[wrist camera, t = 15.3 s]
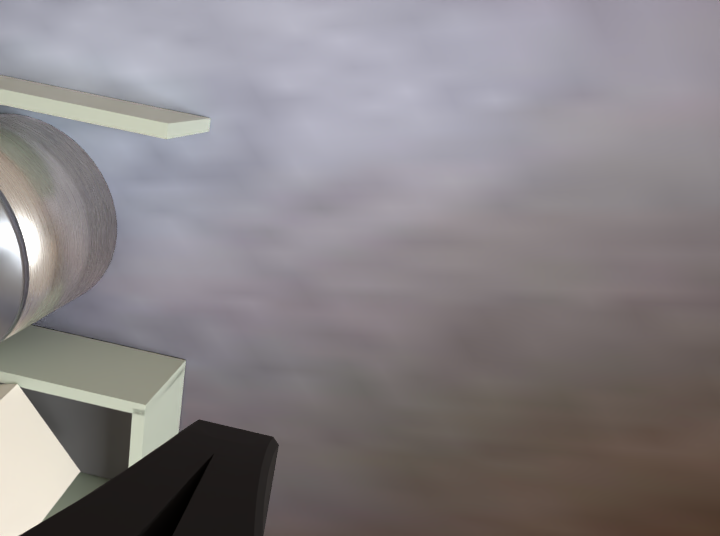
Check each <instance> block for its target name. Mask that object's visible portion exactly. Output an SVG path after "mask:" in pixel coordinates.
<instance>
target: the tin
mask: <svg viewBox="0 0 720 536" xmlns="http://www.w3.org/2000/svg"><path fill="white" fill-rule="evenodd" d="M116 238H117V220H116V212H115V207H114V203H113V199H112V196H111V193H110V191H109V188H108V185H107V183H106V181H105V180H104V178H103V176H102V174H101V172H100V171H99V169H98V167H97V166H96V164H95V163H94V161H93V160H92V159H91V158H90V157H89V155H88V154H87V153H86V152H85V151H84V150H83V149H82V148H81V147H80V146H79V145H78V144H77V143H76V142H75V141H74V140H73V139H71V138H70V137H69V136H67V135H66V134H65V133H63V132H62V131H60V130H58V129H57V128H55V127H53V126H52V125H50V124H47V123H45V122H43V121H41V120H38V119H35V118H31V117H28V116H23V115H17V114H0V343H1V342H3V341H4V340H6V339H7V338H9V337H11V336H12V335H14V334H16V333H18V332H19V331H21V330H23V329H24V328H26V327H28V326H29V325H31V324H33V323H35V322H36V321H38V320H40V319H41V318H43V317H45V316H47V315H48V314H50V313H52V312H53V311H55V310H57V309H58V308H60V307H62V306H64V305H65V304H67V303H69V302H70V301H72V300H74V299H75V298H77V297H79V296H81V295H82V294H84V293H86V292H87V291H88V290H89V289H91V288H92V287H93V286H94V285H95V284H96V283H97V282H98V281H99V280H100V279H101V278H102V276H103V275H104V273H105V272H106V270H107V268H108V266H109V264H110V262H111V260H112V257H113V253H114V250H115V245H116Z"/></svg>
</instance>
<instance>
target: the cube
mask: <svg viewBox="0 0 720 536" xmlns="http://www.w3.org/2000/svg"><path fill="white" fill-rule="evenodd" d="M79 473H80V470H79V469H78V467H77V466H76V465H75V463H74V462H73V460H72V459H71V458H70V456H69V455H68V453H67V452H66V451H65V449H64V448H63V446H62V445H61V444H60V442H59V441H58V439H57V438H56V437H55V435H54V434H53V432H52V431H51V430H50V428H49V427H48V426H47V424H46V423H45V421H44V420H43V419H42V417H41V416H40V414H39V413H38V412H37V410H36V409H35V407H34V406H33V405H32V403H31V402H30V400H29V399H28V398H27V396H26V395H25V393H24V392H23V391H22V389H21V388H20V387H19V385H18V384H0V536H19V535H21V534H22V533H24V532H26V531H28V530H29V529H31V528H33V527H34V526H36V525H38V524H39V523H41V522H42V520H43V519H44V518H45V517H46V515H47V514H48V513H49V511H50V510H51V509H52V508H53V506H54V505H55V504H56V502H57V501H58V500H59V498H60V497H61V496H62V495H63V493H64V492H65V491H66V489H67V488H68V487H69V486H70V484H71V483H72V482H73V480H74V479H75V478H76V476H77V475H78V474H79Z"/></svg>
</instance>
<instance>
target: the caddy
mask: <svg viewBox="0 0 720 536" xmlns="http://www.w3.org/2000/svg"><path fill="white" fill-rule="evenodd" d="M0 105H5V106H10V107H15V108H19V109H24V110H29V111H34V112H39V113H43V114H48V115H53V116H58V117H63V118H67V119H72V120H77V121H82V122H87V123H91V124H96V125H101V126H106V127H111V128H115V129H120V130H125V131H130V132H134V133H139V134H144V135H149V136H154V137H158V138H163V139H171V138H176V137H182V136H187V135H193V134H198V133H204V132H209V129H210V119H211V118H207V117H202V116H197V115H192V114H187V113H182V112H178V111H173V110H168V109H163V108H158V107H153V106H148V105H144V104H139V103H134V102H129V101H124V100H119V99H114V98H110V97H105V96H100V95H95V94H90V93H85V92H81V91H76V90H71V89H66V88H61V87H56V86H51V85H47V84H42V83H37V82H32V81H27V80H22V79H17V78H13V77H8V76H3V75H0ZM185 364H186V360H182V359H178V358H174V357H169V356H165V355H160V354H156V353H152V352H147V351H143V350H139V349H134V348H130V347H125V346H121V345H117V344H112V343H108V342H104V341H99V340H95V339H90V338H86V337H82V336H77V335H73V334H68V333H64V332H60V331H55V330H51V329H47V328H42V327H38V326H33V325H29V326H28V327H26V328H24V329H23V330H21V331H19V332H18V333H16V334H14V335H12V336H11V337H9V338H7V339H6V340H4V341H3V342H1V343H0V383H5V384H18V385H19V387H22V388H26V389H30V390H35V391H39V392H43V393H47V394H52V395H56V396H60V397H64V398H69V399H73V400H77V401H82V402H86V403H90V404H94V405H99V406H103V407H107V408H111V409H116V410H120V411H124V412H129V413H132V424H131V438H130V452H129V466H128V468H129V467H130V466H132V465H133V464H135V463H136V462H138V461H139V460H141V459H142V458H143V457H145V456H146V455H148V454H149V453H151V452H152V451H154V450H155V449H157V448H158V447H159V446H161V445H162V444H164V443H165V442H167V441H168V440H169V439H171V438H172V437H174V436H175V435H176V434H178V432H179V423H180V413H181V403H182V393H183V384H184V374H185ZM109 480H110V479H108V478H104V477H99V476H95V475H91V474H87V473H83V472H80V473H79V474H78V475H77V476H76V478H75V479H74V480H73V482H72V483H71V484H70V486H69V487H68V488H67V489H66V491H65V492H64V493H63V495H62V496H61V497H60V498H59V500H58V501H57V502H56V504H55V505H54V506H53V508H52V509H51V510H50V511H49V513H48V514H47V515H46V517H45V518H44V519H43V520H42V522H43V521H44V520H46V519H48V518H49V517H51V516H53V515H54V514H56V513H58V512H60V511H61V510H63V509H65V508H66V507H68V506H70V505H71V504H73V503H75V502H76V501H78V500H80V499H81V498H83V497H84V496H86V495H88V494H89V493H91V492H92V491H94V490H95V489H97V488H98V487H100V486H101V485H103V484H104V483H106V482H107V481H109Z"/></svg>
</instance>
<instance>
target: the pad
mask: <svg viewBox="0 0 720 536" xmlns="http://www.w3.org/2000/svg"><path fill="white" fill-rule="evenodd" d="M0 384H5V383H0ZM20 388H21V389H22V391H23V392H24V393H25V395H26V396H27V398H28V399H29V400H30V402H31V403H32V405H33V406H34V407H35V409H36V410H37V412H38V413H39V414H40V416H41V417H42V419H43V420H44V421H45V423H46V424H47V426H48V427H49V428H50V430H51V431H52V432H53V434H54V435H55V437H56V438H57V439H58V441H59V442H60V444H61V445H62V446H63V448H64V449H65V451H66V452H67V453H68V455H69V456H70V458H71V459H72V460H73V462H74V463H75V465H76V466H77V467H78V469H79V470H80V472H83V473H87V474H91V475H95V476H99V477H104V478H108V479H112V478H114V477H115V476H117V475H118V474H120V473H121V472H123V471H124V470H126V469H127V468H128V466H129V452H130V438H131V424H132V413H129V412H124V411H120V410H116V409H111V408H107V407H103V406H99V405H94V404H90V403H86V402H82V401H77V400H73V399H69V398H64V397H60V396H56V395H52V394H47V393H43V392H39V391H35V390H30V389H26V388H22V387H20Z"/></svg>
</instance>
